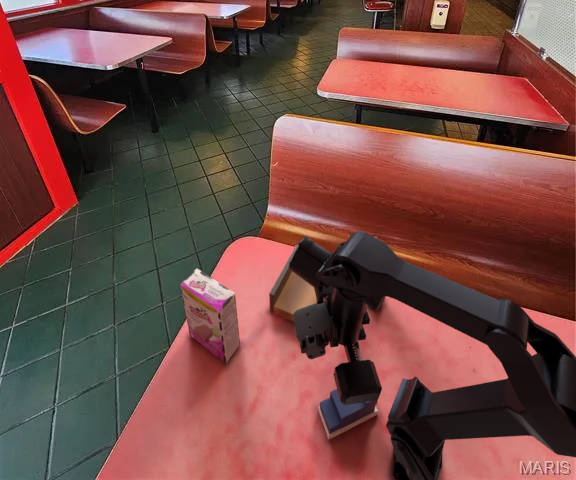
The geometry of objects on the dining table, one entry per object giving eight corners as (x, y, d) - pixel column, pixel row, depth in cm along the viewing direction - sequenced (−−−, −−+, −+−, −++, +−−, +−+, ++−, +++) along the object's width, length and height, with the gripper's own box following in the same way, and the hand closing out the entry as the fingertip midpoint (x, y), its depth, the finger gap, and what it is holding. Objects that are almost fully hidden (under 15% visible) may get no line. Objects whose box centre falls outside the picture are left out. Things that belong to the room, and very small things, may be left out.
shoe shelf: (330, 273, 88) (331, 256, 86) (308, 329, 75) (309, 310, 72) (296, 260, 92) (296, 244, 90) (269, 311, 79) (269, 293, 76)
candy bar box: (188, 337, 73) (178, 284, 67) (204, 318, 77) (196, 266, 71) (225, 367, 68) (218, 312, 62) (241, 345, 72) (236, 291, 66)
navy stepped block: (364, 387, 64) (366, 371, 62) (377, 414, 60) (380, 397, 58) (317, 410, 61) (318, 393, 59) (328, 440, 57) (329, 423, 55)
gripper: (290, 256, 60) (286, 311, 66) (311, 379, 43) (303, 436, 49) (349, 251, 61) (339, 305, 68) (391, 367, 45) (373, 424, 51)
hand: (337, 358), depth 59 cm, fingers open, 9 cm apart
